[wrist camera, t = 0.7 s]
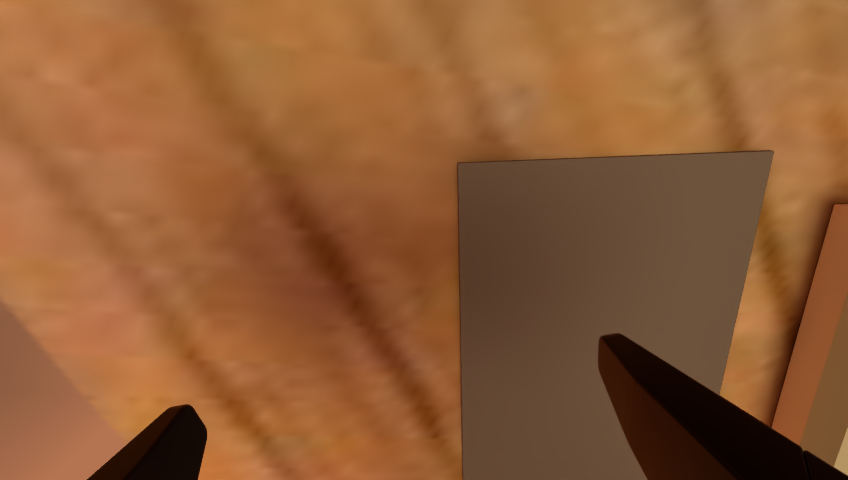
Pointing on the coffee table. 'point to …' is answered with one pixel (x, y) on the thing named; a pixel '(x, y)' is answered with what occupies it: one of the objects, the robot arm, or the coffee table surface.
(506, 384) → the mat
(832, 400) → the lid
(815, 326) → the box
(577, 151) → the coffee table surface
